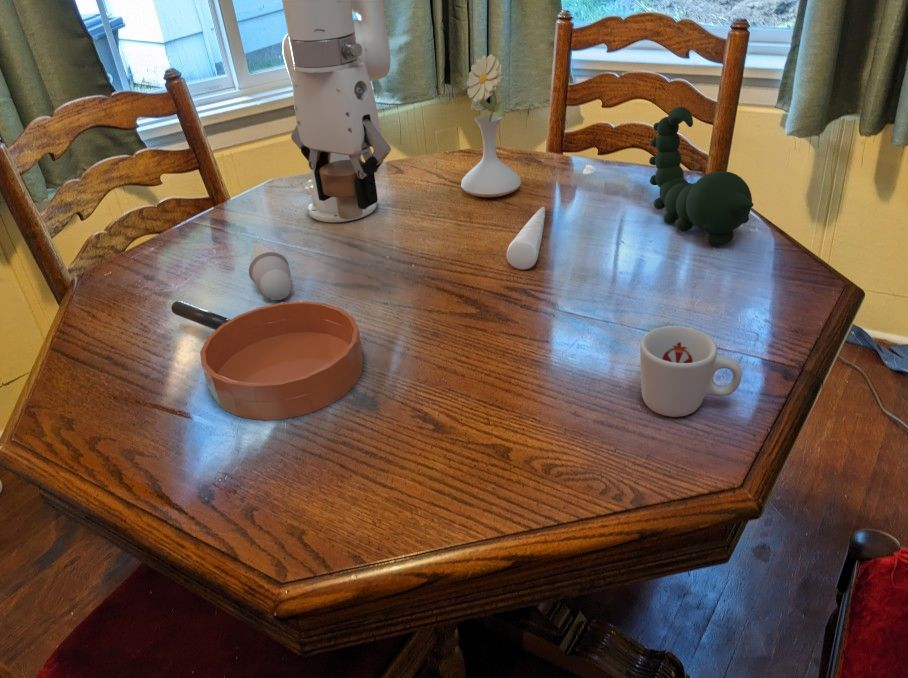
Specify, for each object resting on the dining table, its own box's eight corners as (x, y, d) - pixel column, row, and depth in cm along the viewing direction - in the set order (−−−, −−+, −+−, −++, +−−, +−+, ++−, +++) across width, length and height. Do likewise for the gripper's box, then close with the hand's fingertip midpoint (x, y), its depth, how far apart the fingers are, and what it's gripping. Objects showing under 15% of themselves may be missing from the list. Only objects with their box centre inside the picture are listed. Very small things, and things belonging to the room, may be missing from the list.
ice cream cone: (262, 263, 119) (287, 315, 110) (228, 250, 115) (251, 303, 106) (281, 232, 117) (308, 283, 108) (247, 218, 113) (272, 269, 103)
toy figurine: (633, 218, 128) (718, 265, 108) (637, 106, 119) (731, 133, 98) (680, 209, 130) (773, 253, 110) (688, 98, 121) (790, 123, 100)
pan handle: (170, 315, 101) (166, 303, 100) (182, 309, 102) (178, 297, 101) (228, 338, 95) (224, 325, 94) (240, 331, 96) (236, 318, 95)
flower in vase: (455, 185, 143) (445, 48, 128) (511, 177, 144) (507, 40, 130) (472, 210, 132) (464, 63, 118) (532, 200, 134) (531, 55, 120)
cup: (735, 391, 84) (747, 332, 79) (732, 434, 78) (745, 373, 73) (639, 378, 87) (645, 320, 82) (630, 419, 81) (635, 359, 76)
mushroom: (318, 218, 95) (309, 171, 91) (348, 202, 99) (341, 157, 95) (353, 226, 92) (345, 178, 89) (382, 210, 96) (376, 163, 93)
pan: (179, 389, 91) (167, 356, 89) (288, 320, 104) (281, 289, 101) (287, 439, 82) (278, 404, 79) (393, 356, 94) (389, 323, 92)
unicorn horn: (564, 210, 129) (565, 184, 126) (536, 272, 111) (536, 243, 108) (538, 209, 130) (538, 183, 128) (506, 270, 112) (505, 241, 109)
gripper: (403, 49, 83) (418, 201, 93) (293, 42, 91) (319, 182, 101) (361, 64, 78) (382, 223, 88) (249, 55, 86) (280, 201, 96)
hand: (348, 200), depth 94 cm, fingers closed on mushroom, 6 cm apart
